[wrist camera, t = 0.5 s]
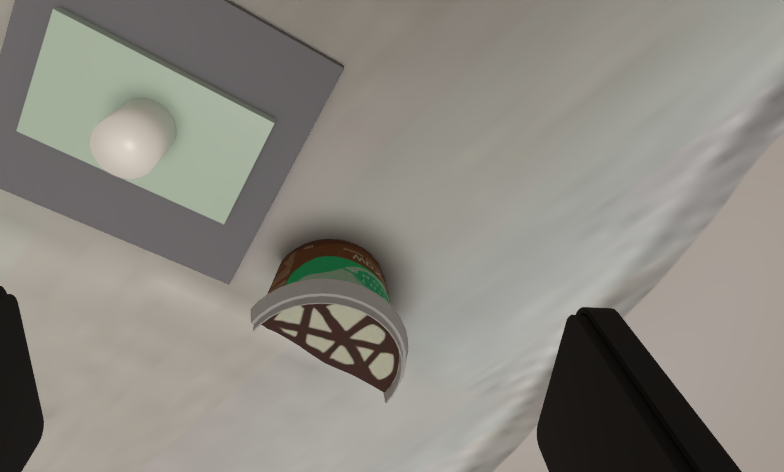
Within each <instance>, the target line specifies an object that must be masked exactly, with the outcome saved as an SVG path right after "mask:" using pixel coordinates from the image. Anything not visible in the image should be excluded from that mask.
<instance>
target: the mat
mask: <svg viewBox="0 0 784 472" xmlns="http://www.w3.org/2000/svg"><path fill="white" fill-rule="evenodd" d="M58 7H61V8H63V9H65V10H67V11H69V12H71V13H73V14H75V15H77V16H79V17H80V18H82V19H84V20H86V21H88V22H90V23H92V24H94V25H96V26H98V27H100V28H102V29H104V30H105V31H107V32H109V33H111V34H113V35H115V36H117V37H119V38H121V39H123V40H125V41H127V42H129V43H131V44H132V45H134V46H136V47H138V48H140V49H142V50H144V51H146V52H148V53H150V54H152V55H154V56H156V57H157V58H159V59H161V60H163V61H165V62H167V63H169V64H171V65H173V66H175V67H177V68H179V69H181V70H182V71H184V72H186V73H188V74H190V75H192V76H194V77H196V78H198V79H200V80H202V81H204V82H206V83H208V84H209V85H211V86H213V87H215V88H217V89H219V90H221V91H223V92H225V93H227V94H229V95H231V96H233V97H234V98H236V99H238V100H240V101H242V102H244V103H246V104H248V105H250V106H252V107H254V108H256V109H258V110H259V111H261V112H263V113H265V114H267V115H269V116H271V117H273V118H275V119H276V121H275V123H274V126H273V128H272V130H271V132H270V134H269V136H268V138H267V140H266V142H265V144H264V146H263V148H262V150H261V152H260V154H259V156H258V158H257V160H256V162H255V164H254V166H253V168H252V170H251V172H250V174H249V176H248V178H247V180H246V182H245V184H244V186H243V188H242V190H241V192H240V194H239V196H238V198H237V200H236V202H235V204H234V206H233V208H232V210H231V212H230V214H229V216H228V218H227V220H226V222H225V224H222V223H219V222H217V221H215V220H213V219H211V218H208V217H206V216H204V215H202V214H199V213H197V212H195V211H193V210H191V209H188V208H186V207H184V206H182V205H179V204H177V203H175V202H173V201H171V200H168V199H166V198H164V197H162V196H159V195H157V194H155V193H153V192H151V191H148V190H146V189H144V188H142V187H139V186H137V185H135V184H133V183H131V182H128V181H126V180H124V179H122V178H119V177H117V176H114V175H112V174H110V173H108V172H106V171H104V170H102V169H99V168H97V167H95V166H93V165H91V164H88V163H86V162H84V161H82V160H79V159H77V158H75V157H73V156H71V155H68V154H66V153H64V152H62V151H59V150H57V149H55V148H53V147H50V146H48V145H46V144H44V143H42V142H39V141H37V140H35V139H33V138H30V137H28V136H26V135H24V134H22V133H19V132H17V131H16V130H17V127H18V124H19V120H20V117H21V114H22V110H23V107H24V104H25V100H26V97H27V94H28V90H29V87H30V84H31V80H32V77H33V74H34V70H35V67H36V64H37V60H38V57H39V54H40V50H41V47H42V44H43V40H44V37H45V34H46V30H47V27H48V24H49V20H50V17H51V14H52V10H53V9H54V8H58ZM343 69H344V66H342V65H340V64H338V63H337V62H335V61H333V60H331V59H330V58H328V57H326V56H324V55H323V54H321V53H319V52H317V51H316V50H314V49H312V48H310V47H309V46H307V45H305V44H303V43H301V42H300V41H298V40H296V39H294V38H293V37H291V36H289V35H287V34H286V33H284V32H282V31H280V30H279V29H277V28H275V27H273V26H272V25H270V24H268V23H266V22H265V21H263V20H261V19H259V18H258V17H256V16H254V15H252V14H251V13H249V12H247V11H245V10H243V9H242V8H240V7H238V6H236V5H235V4H233V3H231V2H229V1H228V0H15V3H14V6H13V10H12V14H11V17H10V21H9V25H8V28H7V32H6V36H5V40H4V43H3V47H2V51H1V54H0V189H2V190H5V191H7V192H10V193H12V194H14V195H17V196H19V197H21V198H24V199H26V200H29V201H31V202H33V203H36V204H38V205H41V206H43V207H45V208H48V209H50V210H52V211H55V212H57V213H60V214H62V215H64V216H67V217H69V218H72V219H74V220H76V221H79V222H81V223H83V224H86V225H88V226H91V227H93V228H95V229H98V230H100V231H103V232H105V233H107V234H110V235H112V236H114V237H117V238H119V239H122V240H124V241H126V242H129V243H131V244H134V245H136V246H138V247H141V248H143V249H145V250H148V251H150V252H153V253H155V254H157V255H160V256H162V257H165V258H167V259H169V260H172V261H174V262H176V263H179V264H181V265H184V266H186V267H188V268H191V269H193V270H196V271H198V272H200V273H203V274H205V275H207V276H210V277H212V278H215V279H217V280H219V281H222V282H224V283H227V284H229V283H230V282H231V280H232V278H233V276H234V274H235V272H236V270H237V268H238V267H239V265H240V263H241V261H242V259H243V257H244V255H245V253H246V251H247V250H248V248H249V246H250V244H251V242H252V240H253V238H254V236H255V234H256V233H257V231H258V229H259V227H260V225H261V223H262V221H263V219H264V218H265V216H266V214H267V212H268V210H269V208H270V206H271V204H272V202H273V201H274V199H275V197H276V195H277V193H278V191H279V189H280V187H281V185H282V184H283V182H284V180H285V178H286V176H287V174H288V172H289V170H290V169H291V167H292V165H293V163H294V161H295V159H296V157H297V155H298V153H299V152H300V150H301V148H302V146H303V144H304V142H305V140H306V138H307V136H308V135H309V133H310V131H311V129H312V127H313V125H314V123H315V121H316V120H317V118H318V116H319V114H320V112H321V110H322V108H323V106H324V104H325V103H326V101H327V99H328V97H329V95H330V93H331V91H332V89H333V87H334V86H335V84H336V82H337V80H338V78H339V76H340V74H341V72H342V71H343Z"/></svg>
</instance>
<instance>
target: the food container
mask: <svg viewBox="0 0 784 472" xmlns="http://www.w3.org/2000/svg"><path fill="white" fill-rule="evenodd" d="M251 323H252V324H254V328H253V331H255V330H256V329H257V328H258V327H259V326H260V325H263V326H265V327H266V328H267V329H270V330H272V331H274V332H276V333H279V334H280V335H282V336H284V337H286V338H287V339H289V340H291V341H292V342H294V343H296V344H297V345H299V346H300V347H302V348H303V349H305V350H306V351H307V352H309V353H310V354H312V355H313V356H315V357H316V358H318V359H319V360H321V361H323V362H324V363H326V364H328V365H331V366H333V367H335V368H337V369H340V370H342V371H345V372H347V373H349V374H352V375H354V376H356V377H358V378H359V379H361V380H363V381H365V382H367V383H368V384H370V385H372V386H374V387H376V388H377V389H379V390H381V391H383V392H384V398H385V403H387V402H388V401H389V400H390V399H391V398H392V396H393V395H394V393H395V391H396V390H397V388H398V386H399V384H400V382H401V380H402V377H403V374H404V371H405V365H406V359H407V354H408V338H407V333H406V329H405V327H404V324H403V322H402V320H401V318H400V316H399V315H398V314H397V312H396V311H395V309H394V308H393V307H392V306H391V304H390V300H389V296H388V292H387V288H386V284H385V280H384V276H383V274H382V271H381V269H380V266H379V264H378V262H377V261H376V260H375V259H374V258H373V257H372V255H371V254H370V253H368V252H367V251H366V250H364V249H363V248H361V247H359V246H358V245H356V244H353V243H350V242H347V241H343V240H335V239H325V240H317V241H313V242H310V243H307V244H304V245H302V246H300V247H298V248H296V249H295V250H293V251H292V252H291V253H289V254H288V255H287V256H286V257H285V258H284V259H283V260H282V262H281V264H280V266H279V269H278V271H277V273H276V276H275V278H274V280H273V282H272V285H271V287H270V289H269V292H268V294H267V295H266V296H265V297H263V298H262V299H261V300H259V301H258V302H257V303H256V304H255V305H254V306H253V307H252V308H251Z"/></svg>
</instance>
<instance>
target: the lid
mask: <svg viewBox="0 0 784 472" xmlns="http://www.w3.org/2000/svg"><path fill="white" fill-rule="evenodd" d="M275 121H276V119H275V118H273V117H271V116H269V115H267V114H265V113H263V112H261V111H259V110H258V109H256V108H254V107H252V106H250V105H248V104H246V103H244V102H242V101H240V100H238V99H236V98H234V97H233V96H231V95H229V94H227V93H225V92H223V91H221V90H219V89H217V88H215V87H213V86H211V85H209V84H208V83H206V82H204V81H202V80H200V79H198V78H196V77H194V76H192V75H190V74H188V73H186V72H184V71H182V70H181V69H179V68H177V67H175V66H173V65H171V64H169V63H167V62H165V61H163V60H161V59H159V58H157V57H156V56H154V55H152V54H150V53H148V52H146V51H144V50H142V49H140V48H138V47H136V46H134V45H132V44H131V43H129V42H127V41H125V40H123V39H121V38H119V37H117V36H115V35H113V34H111V33H109V32H107V31H105V30H104V29H102V28H100V27H98V26H96V25H94V24H92V23H90V22H88V21H86V20H84V19H82V18H80V17H79V16H77V15H75V14H73V13H71V12H69V11H67V10H65V9H63V8H61V7H58V8H54V9H53V10H52V14H51V17H50V20H49V24H48V27H47V30H46V34H45V37H44V40H43V44H42V47H41V50H40V54H39V57H38V60H37V64H36V67H35V70H34V74H33V77H32V80H31V84H30V87H29V90H28V94H27V97H26V100H25V104H24V107H23V110H22V114H21V117H20V120H19V124H18V127H17V130H16V131H17V132H19V133H22V134H24V135H26V136H28V137H30V138H33V139H35V140H37V141H39V142H42V143H44V144H46V145H48V146H50V147H53V148H55V149H57V150H59V151H62V152H64V153H66V154H68V155H71V156H73V157H75V158H77V159H79V160H82V161H84V162H86V163H88V164H91V165H93V166H95V167H97V168H99V169H102V170H104V171H106V172H108V173H110V174H112V175H114V176H117V177H119V178H122V179H124V180H126V181H128V182H131V183H133V184H135V185H137V186H139V187H142V188H144V189H146V190H148V191H151V192H153V193H155V194H157V195H159V196H162V197H164V198H166V199H168V200H171V201H173V202H175V203H177V204H179V205H182V206H184V207H186V208H188V209H191V210H193V211H195V212H197V213H199V214H202V215H204V216H206V217H208V218H211V219H213V220H215V221H217V222H219V223H222V224H225V222H226V220H227V218H228V216H229V214H230V212H231V210H232V208H233V206H234V204H235V202H236V200H237V198H238V196H239V194H240V192H241V190H242V188H243V186H244V184H245V182H246V180H247V178H248V176H249V174H250V172H251V170H252V168H253V166H254V164H255V162H256V160H257V158H258V156H259V154H260V152H261V150H262V148H263V146H264V144H265V142H266V140H267V138H268V136H269V134H270V132H271V130H272V128H273V126H274V123H275Z"/></svg>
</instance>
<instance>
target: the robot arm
mask: <svg viewBox="0 0 784 472" xmlns="http://www.w3.org/2000/svg"><path fill="white" fill-rule="evenodd" d="M43 427H44V420H43V415H42V410H41V406H40V401H39V396H38V392H37V387H36V383H35V378H34V374H33V369H32V365H31V360H30V356H29V351H28V347H27V342H26V337H25V333H24V328H23V324H22V319H21V315H20V310H19V306H18V302H17V299H16V298H15V296H14V295H11V294H7V293H6V291H5V289H4V288H3V287H2V286H0V472H21V471H22V470H23V468H24V466H25V465H26V463H27V461H28V460H29V458H30V457H31V455H32V453H33V452H34V450H35V448H36V447H37V445H38V443H39V441H40V439H41V436H42V433H43ZM537 441H538V445H539V448H540V451H541V453H542V455H543V458H544V460H545V463H546V465H547V468H548V470H549V472H741V471H740V469H739V468H738V466H737V465H736V464H735V463H734V461H733V460H732V459H731V457H730V456H729V455H728V454H727V452H726V451H725V450H724V448H723V447H722V446H721V444H720V443H719V442H718V441H717V439H716V438H715V437H714V436H713V434H712V433H711V432H710V431H709V429H708V428H707V426H706V425H705V424H704V423H703V421H702V420H701V419H700V418H699V416H698V415H697V414H696V412H695V411H694V410H693V408H692V407H691V406H690V405H689V403H688V402H687V401H686V399H685V398H684V397H683V396H682V394H681V393H680V392H679V390H678V389H677V388H676V387H675V385H674V384H673V383H672V381H671V380H670V379H669V378H668V376H667V375H666V374H665V373H664V371H663V370H662V369H661V367H660V366H659V365H658V363H657V362H656V361H655V360H654V358H653V357H652V356H651V355H650V353H649V352H648V351H647V349H646V348H645V347H644V345H643V344H642V343H641V342H640V340H639V339H638V338H637V336H636V335H635V334H634V333H633V331H632V330H631V329H630V327H629V326H628V325H627V324H626V322H625V321H624V320H623V318H622V317H621V316H620V314H619V313H618V312H617V311H616V310H615V309H611V308H589V307H582V308H580V309H579V310H578V312H577V313H576V315H570V316H569V317H568V319H567V322H566V325H565V328H564V332H563V336H562V339H561V343H560V346H559V350H558V354H557V357H556V361H555V364H554V368H553V372H552V375H551V379H550V382H549V386H548V390H547V393H546V397H545V400H544V404H543V408H542V411H541V415H540V418H539V422H538V426H537Z"/></svg>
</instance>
